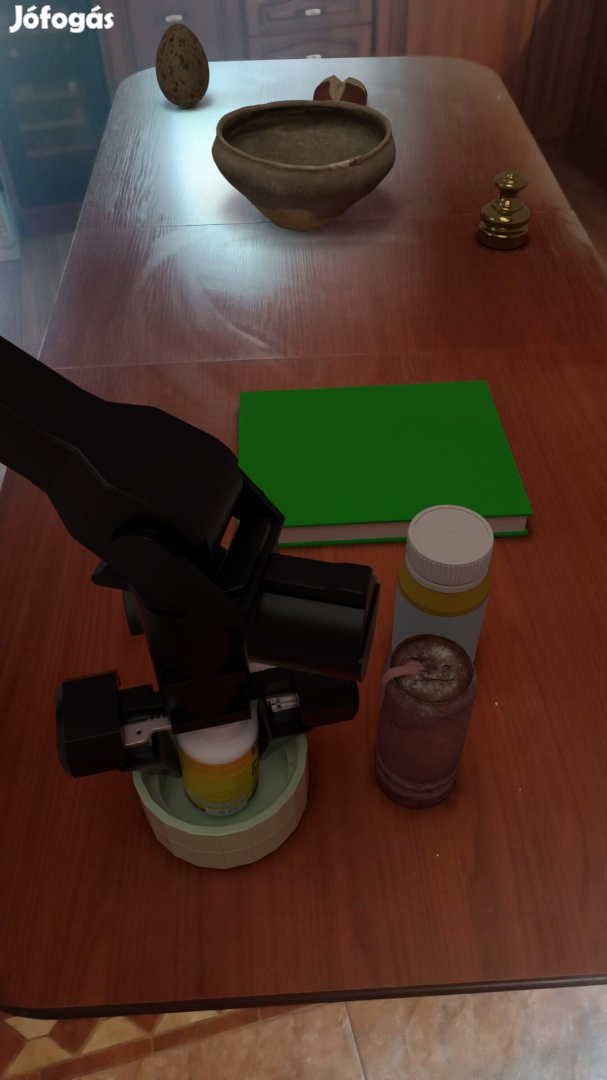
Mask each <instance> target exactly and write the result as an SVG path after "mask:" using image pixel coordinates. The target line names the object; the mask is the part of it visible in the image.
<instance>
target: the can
mask: <svg viewBox="0 0 607 1080" xmlns="http://www.w3.org/2000/svg"><path fill="white" fill-rule="evenodd" d="M478 681H479V677H478V673H477V669H476V665H475V664H474V662H473V663H472V659H471V658H470V656H469V655H468V653H467V652H466V650H465V649H464V648H463V647H462V646H460V645H459V644H458V643H457V642H455V641H454V640H451V639H449V638H447V637H445V636H442V635H436V634H431V633H430V634H417V635H414V636H411V637H408V638H406V639H404V640H403V641H402V642H400V643H399V644H398V645H397V646H396V647H395V648H394V649H393V650H392V649H391V650H390V652H389V653H388V654H387V656H386V658H385V660H384V662H383V667H382V671H381V678H380V682H379V689H378V702H379V703H378V704H379V707H378V720H377V732H376V746H375V759H374V772H375V779H376V781H377V782H378V785H379V787H380V789H381V790H382V791H383V792H384V793H385V794H386V795H387V797H389V798H390V799H391V800H393V801H395V802H396V803H398V804H400V805H401V806H404V807H410V808H414V809H419V808H420V809H421V808H431V807H432V806H435V805H437V804H440V803H441V802H442V801H444V800H445V799H446V798H447V797H448V796H449V795H450V794H451V793H452V790H453V789H454V786H455V785H456V781H457V776H458V772H459V769H460V768H459V767H460V763H461V759H462V754H463V750H464V746H465V742H466V737H467V734H468V729H469V725H470V721H471V716H472V712H473V708H474V704H475V699H476V695H477V691H478Z"/></svg>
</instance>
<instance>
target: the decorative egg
mask: <svg viewBox="0 0 607 1080" xmlns="http://www.w3.org/2000/svg"><path fill="white" fill-rule="evenodd" d="M210 75H211V73H210V65H209V61H208V57H207V54H206V52H205V49H204V47H203V45H202V43H201V42H200V40H199V38H198V37H197V36H196V34H195V33H194V32H193V30H192V29H190V27H188V26H186V25H185V24H183V23H179V22H176V23H172V24H171V25H169V26H168V27H167V28H166V29H165V30H164V33H163V34H162V36H161V38H160V40H159V42H158V46H157V50H156V55H155V76H156V82H157V85H158V88H159V90H160V92H161V93H162V95H163V96H164V97H165V99H166V100H167V101H168V102H169V103H171V104H172V105H174V106H176V107H179V108H181V109H182V108H183V109H188V108H193V107H195V106H197V105H198V104H199V103H201V101H202V100H203V98H204V97H205V95H206V94H207V91H208V88H209V86H210V77H211V76H210Z"/></svg>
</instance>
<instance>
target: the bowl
mask: <svg viewBox="0 0 607 1080" xmlns="http://www.w3.org/2000/svg"><path fill="white" fill-rule="evenodd" d="M396 147H397V146H396V143H395V139H394V135H393V126H392V124H391V122H390V119H389V118H388V117H387V116H386V115H385V114H383V113H382V112H380V111H379V110H377V109H375V108H372V107H370V106H366V105H365V106H362V105H358V104H355V103H351V102H345V101H337V100H326V101H318V100H316V101H313V99H312V100H311V99H286V100H275V101H270V102H266V103H259V104H252V105H246V106H242V107H240V108H237V109H234V110H232V111H229V112H227V113H225V114H223V116H221V117H220V118H219V120H218V122H217V124H216V127H215V137H214V140H213V143H212V145H211V151H210V152H211V157H212V160H213V162H214V164H215V166H216V168H217V170H218V171H219V173H220V174H221V176H222V177H223V178H224V179H225V180H226V181H227V182H228V183H229V185H230V186H232V187H233V188H234V189H235V190H236V191H237V192H239V193H240V194H241V195H243V197H245V198H246V200H247V201H248V202H249V203H250V204H251V205H252V206H253V207H254V208H255V209H256V210H257V211H258V212H259V213H260V214H262V215H263V216H264V217H265V218H267V219H268V220H269V221H270V222H271V223H272V224H273V225H274V226H277V227H279V228H281V229H283V230H290V231H296V232H297V231H301V232H310V231H315V230H319V229H320V230H321V229H322V228H324V227H326V226H327V225H329V224H331V223H332V222H335V220H337V219H338V218H339V217H341V216H342V215H343V214H345V213H346V212H347V211H349V210H350V209H351V208H352V207H353V206H354V205H355V204H356V203H358V202H359V201H361V200H362V199H364V198H365V197H368V195H369V194H371V193H372V192H373V191H375V189H376V188H377V187H378V186H379V185H380V184H381V183H382V181H383V180H384V179H385V178H386V177H387V176H388V175H389V173H390V172H391V171H392V169H393V168H394V166H395V162H396V156H397V154H396V153H397V148H396Z"/></svg>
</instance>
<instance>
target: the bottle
mask: <svg viewBox="0 0 607 1080" xmlns="http://www.w3.org/2000/svg"><path fill="white" fill-rule="evenodd" d="M494 543H495V537H493V532H492V529H491V527H490V525H489V524H488V522H487V521H486V520H485V519H484V518H483V517H482V516H481V515H479V514H478V513H476V512H474V511H472V510H470V509H467V508H464V507H461V506H456V505H438V506H433V507H430V508H427V509H425V510H423V511H421V512H420V513H418V514H417V515H416V516H415V517H414V518H413V520H412V521H411V523H410V525H409V528H408V534H407V542H406V545H405V556H404V557H403V559H402V561H401V563H400V564H399V567H398V571H397V579H396V580H397V581H396V592H395V593H396V594H395V603H394V605H395V606H394V613H393V615H394V616H393V626H392V634H391V636H392V637H391V651H392V650H393V649H394V648H395V647H396V646H397V645H398V644H399V643H400V642H402V641H403V640H404V639H406V638H408V637H411V636H414V635H417V634H430V633H431V634H436V635H442V636H445V637H447V638H449V639H451V640H454V641H455V642H457V643H458V644H459V645H460V646H462V647H463V648H464V649H465V650H466V652H467V653H468V655H469V656H470V658H471V659H472V663H473V664H474V662H475V658H476V656H477V655H476V654H477V649H478V644H479V641H480V636H481V631H482V628H483V622H484V618H485V613H486V609H487V604H488V600H489V595H490V592H491V591H490V590H491V582H492V581H491V573H490V571H489V565H490V562H491V559H492V555H493V550H494V545H495V544H494Z"/></svg>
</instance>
